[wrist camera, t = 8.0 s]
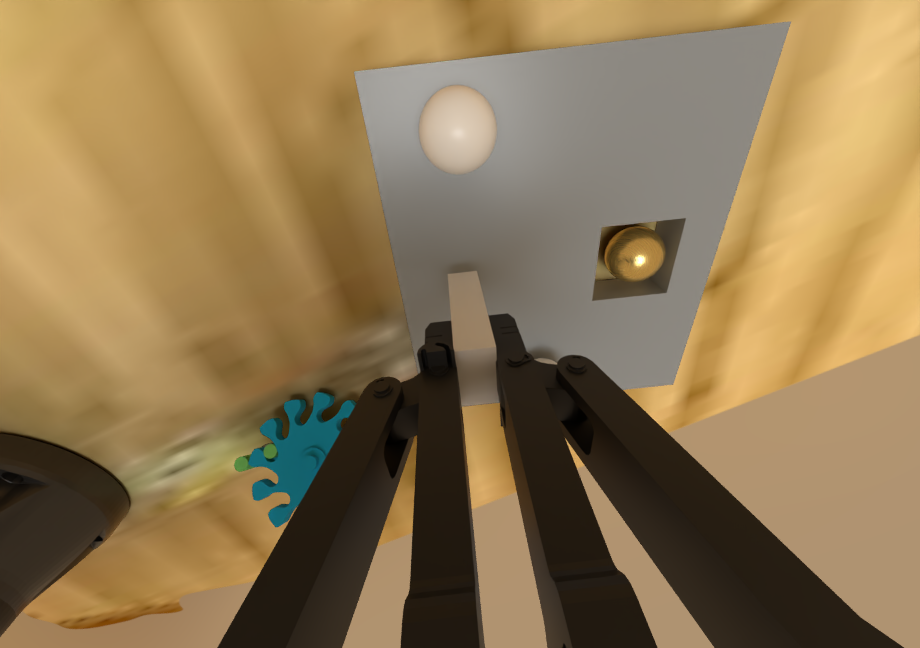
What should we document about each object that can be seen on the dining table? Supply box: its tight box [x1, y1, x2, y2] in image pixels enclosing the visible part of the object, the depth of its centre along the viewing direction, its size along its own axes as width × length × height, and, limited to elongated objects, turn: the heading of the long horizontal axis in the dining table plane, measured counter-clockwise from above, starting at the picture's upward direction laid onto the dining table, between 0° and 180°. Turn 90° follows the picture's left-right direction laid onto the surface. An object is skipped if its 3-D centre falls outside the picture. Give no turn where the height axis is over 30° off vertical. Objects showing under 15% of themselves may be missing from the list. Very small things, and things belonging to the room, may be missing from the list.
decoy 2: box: [419, 85, 497, 175], centre depth 14 cm, size 3×3×3 cm
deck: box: [354, 22, 791, 407], centre depth 21 cm, size 18×20×2 cm
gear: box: [234, 392, 357, 527], centre depth 28 cm, size 11×6×10 cm
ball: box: [604, 226, 666, 282], centre depth 20 cm, size 3×3×3 cm
